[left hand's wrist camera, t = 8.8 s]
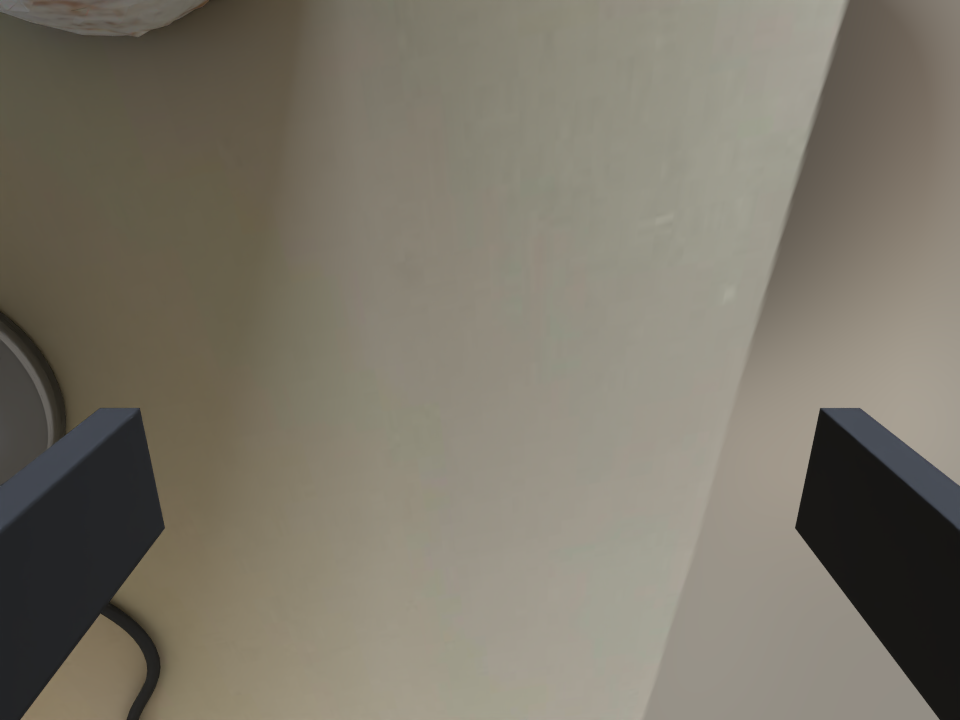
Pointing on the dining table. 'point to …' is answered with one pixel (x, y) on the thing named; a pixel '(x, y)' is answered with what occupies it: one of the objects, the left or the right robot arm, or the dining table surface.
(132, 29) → the cake
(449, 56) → the dining table surface
